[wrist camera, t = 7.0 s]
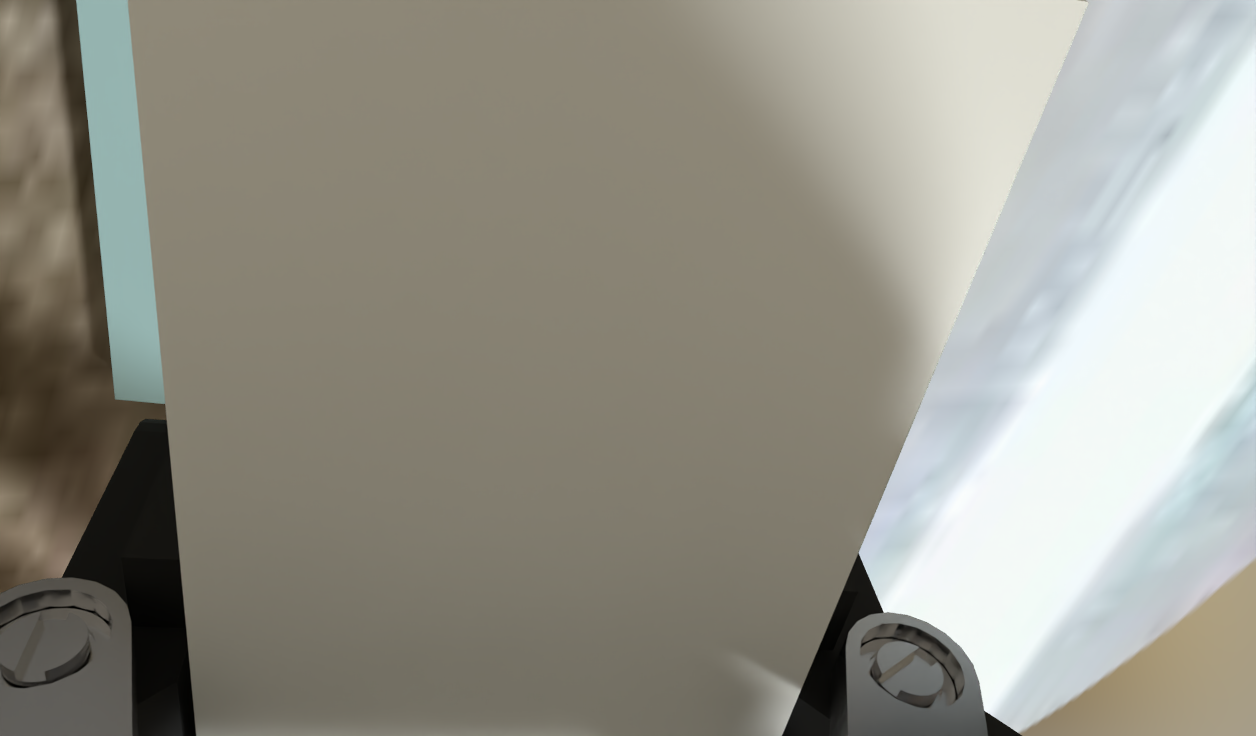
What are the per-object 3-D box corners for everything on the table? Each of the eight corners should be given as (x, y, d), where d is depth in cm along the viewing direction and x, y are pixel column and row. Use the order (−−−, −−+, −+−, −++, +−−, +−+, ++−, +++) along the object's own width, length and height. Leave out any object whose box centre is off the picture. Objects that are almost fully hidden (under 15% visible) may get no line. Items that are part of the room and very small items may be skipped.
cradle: (34, -677, 18) (-43, -741, 16) (833, -445, 22) (880, -465, 19) (127, 377, 31) (93, 439, 28) (620, 424, 34) (631, 484, 32)
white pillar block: (290, -234, 9) (91, -172, 4) (838, -127, 10) (1106, 9, 5) (296, 753, 16) (225, 1125, 12) (602, 756, 17) (637, 1101, 13)
